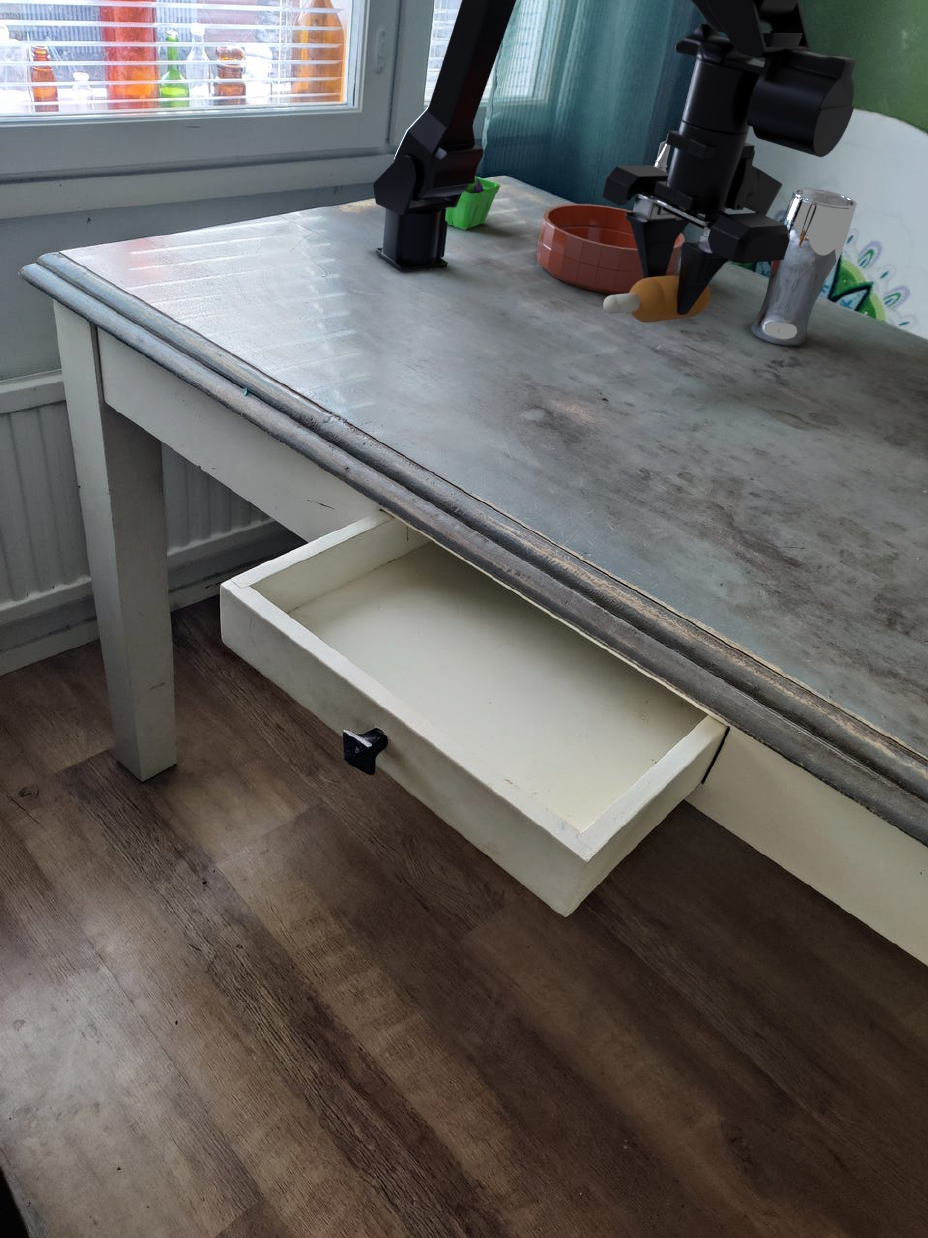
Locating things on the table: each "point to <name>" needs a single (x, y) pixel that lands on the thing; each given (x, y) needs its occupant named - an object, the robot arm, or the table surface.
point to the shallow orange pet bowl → (594, 248)
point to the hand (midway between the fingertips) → (667, 305)
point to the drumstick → (654, 300)
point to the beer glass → (803, 263)
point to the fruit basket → (473, 204)
